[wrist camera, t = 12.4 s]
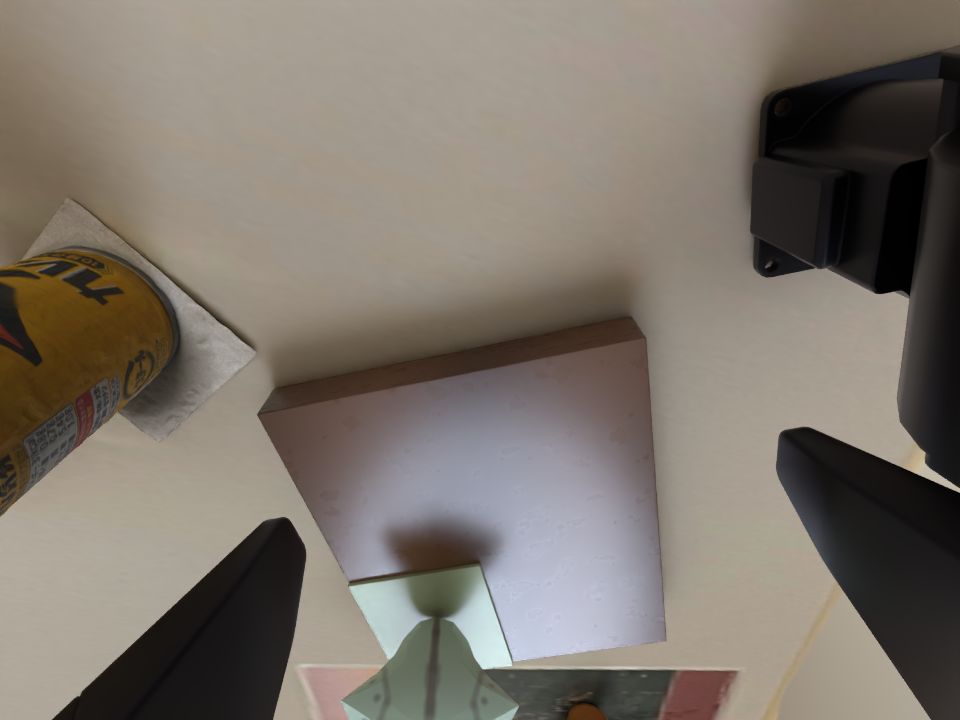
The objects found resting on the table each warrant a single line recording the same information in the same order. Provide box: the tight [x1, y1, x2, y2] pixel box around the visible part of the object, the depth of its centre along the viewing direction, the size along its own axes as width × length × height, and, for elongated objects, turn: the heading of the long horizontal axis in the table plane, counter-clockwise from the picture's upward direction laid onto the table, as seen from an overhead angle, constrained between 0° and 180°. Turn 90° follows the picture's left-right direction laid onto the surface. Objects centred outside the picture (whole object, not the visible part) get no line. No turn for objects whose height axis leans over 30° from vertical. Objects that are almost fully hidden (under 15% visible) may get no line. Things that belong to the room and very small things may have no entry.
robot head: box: [341, 617, 519, 720], centre depth 24 cm, size 8×4×7 cm, turn 86°
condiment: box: [0, 197, 257, 516], centre depth 15 cm, size 7×8×12 cm
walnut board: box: [257, 317, 666, 669], centre depth 25 cm, size 16×20×2 cm
